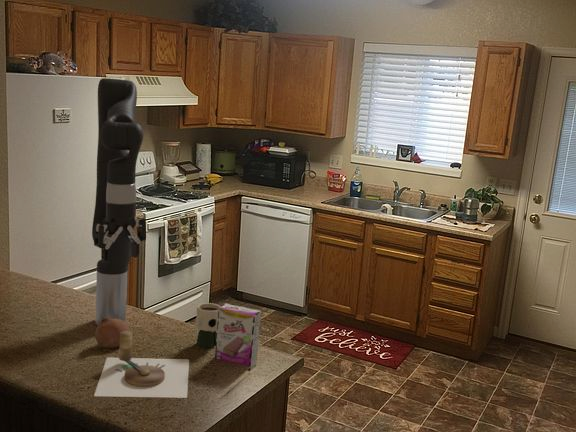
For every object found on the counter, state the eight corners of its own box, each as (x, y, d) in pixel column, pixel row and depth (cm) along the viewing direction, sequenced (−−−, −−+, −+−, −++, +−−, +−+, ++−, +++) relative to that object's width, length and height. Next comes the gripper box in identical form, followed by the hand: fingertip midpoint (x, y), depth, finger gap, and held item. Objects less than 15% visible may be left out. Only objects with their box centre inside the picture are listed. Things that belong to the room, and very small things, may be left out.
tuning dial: (172, 380, 164) (173, 349, 162) (137, 390, 157) (138, 358, 155) (138, 356, 175) (139, 328, 174) (104, 365, 169) (105, 335, 167)
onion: (98, 357, 184) (84, 325, 183) (125, 341, 190) (112, 310, 189) (112, 357, 177) (97, 324, 176) (140, 340, 183) (126, 309, 182)
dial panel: (106, 362, 174) (107, 356, 174) (188, 364, 177) (189, 358, 177) (93, 401, 153) (93, 395, 153) (186, 403, 156) (187, 396, 156)
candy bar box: (213, 363, 180) (217, 307, 176) (221, 356, 184) (225, 302, 181) (250, 371, 176) (255, 315, 173) (257, 365, 181) (261, 309, 178)
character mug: (203, 358, 182) (206, 314, 180) (185, 350, 186) (187, 308, 184) (227, 346, 191) (230, 305, 189) (209, 340, 195) (211, 299, 193)
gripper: (136, 194, 174) (135, 252, 178) (88, 199, 164) (88, 260, 167) (152, 199, 169) (151, 258, 173) (104, 205, 159) (104, 267, 162)
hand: (120, 259), depth 170 cm, fingers open, 8 cm apart
